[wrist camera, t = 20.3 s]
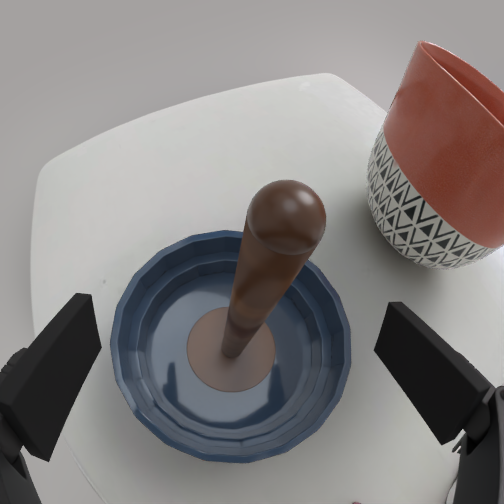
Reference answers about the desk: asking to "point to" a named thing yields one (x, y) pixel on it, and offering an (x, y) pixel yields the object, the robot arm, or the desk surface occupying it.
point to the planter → (440, 163)
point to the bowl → (201, 395)
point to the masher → (257, 287)
